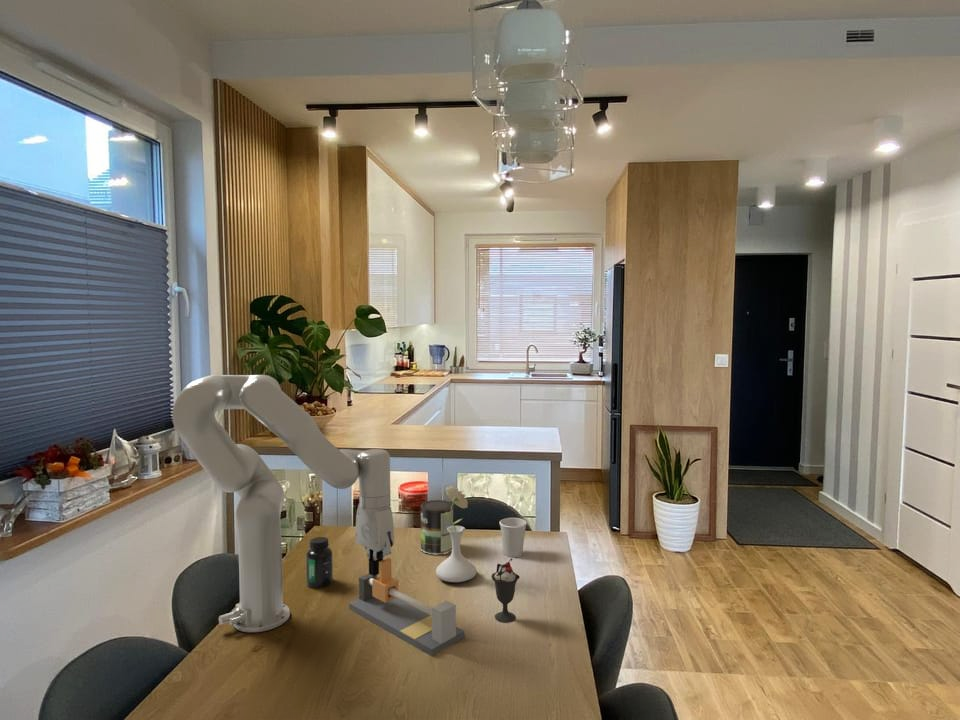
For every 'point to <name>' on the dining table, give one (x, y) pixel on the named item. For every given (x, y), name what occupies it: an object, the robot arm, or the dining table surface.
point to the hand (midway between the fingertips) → (376, 573)
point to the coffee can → (436, 527)
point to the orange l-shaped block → (384, 582)
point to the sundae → (505, 589)
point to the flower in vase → (456, 546)
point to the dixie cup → (513, 536)
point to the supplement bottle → (319, 563)
